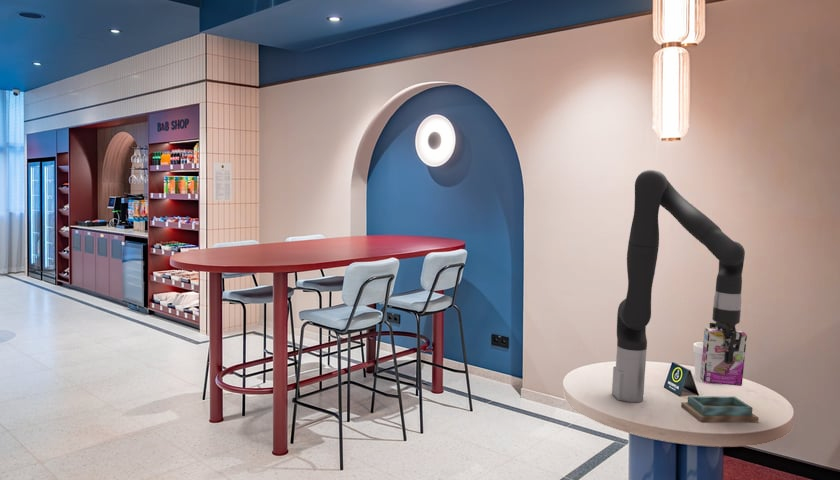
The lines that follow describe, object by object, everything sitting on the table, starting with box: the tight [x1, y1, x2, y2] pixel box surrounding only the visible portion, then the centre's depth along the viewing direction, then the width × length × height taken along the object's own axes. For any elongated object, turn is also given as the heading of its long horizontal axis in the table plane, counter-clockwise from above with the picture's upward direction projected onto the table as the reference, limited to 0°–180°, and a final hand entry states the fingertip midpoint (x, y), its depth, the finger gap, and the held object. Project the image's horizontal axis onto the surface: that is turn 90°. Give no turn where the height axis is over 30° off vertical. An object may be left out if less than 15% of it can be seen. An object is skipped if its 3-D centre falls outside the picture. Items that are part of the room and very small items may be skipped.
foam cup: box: [692, 341, 705, 384], centre depth 219 cm, size 10×9×13 cm
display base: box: [680, 395, 759, 423], centre depth 187 cm, size 18×12×4 cm, turn 93°
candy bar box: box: [700, 327, 748, 387], centre depth 185 cm, size 11×5×16 cm, turn 79°
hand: (722, 360), depth 185 cm, fingers closed on candy bar box, 5 cm apart
